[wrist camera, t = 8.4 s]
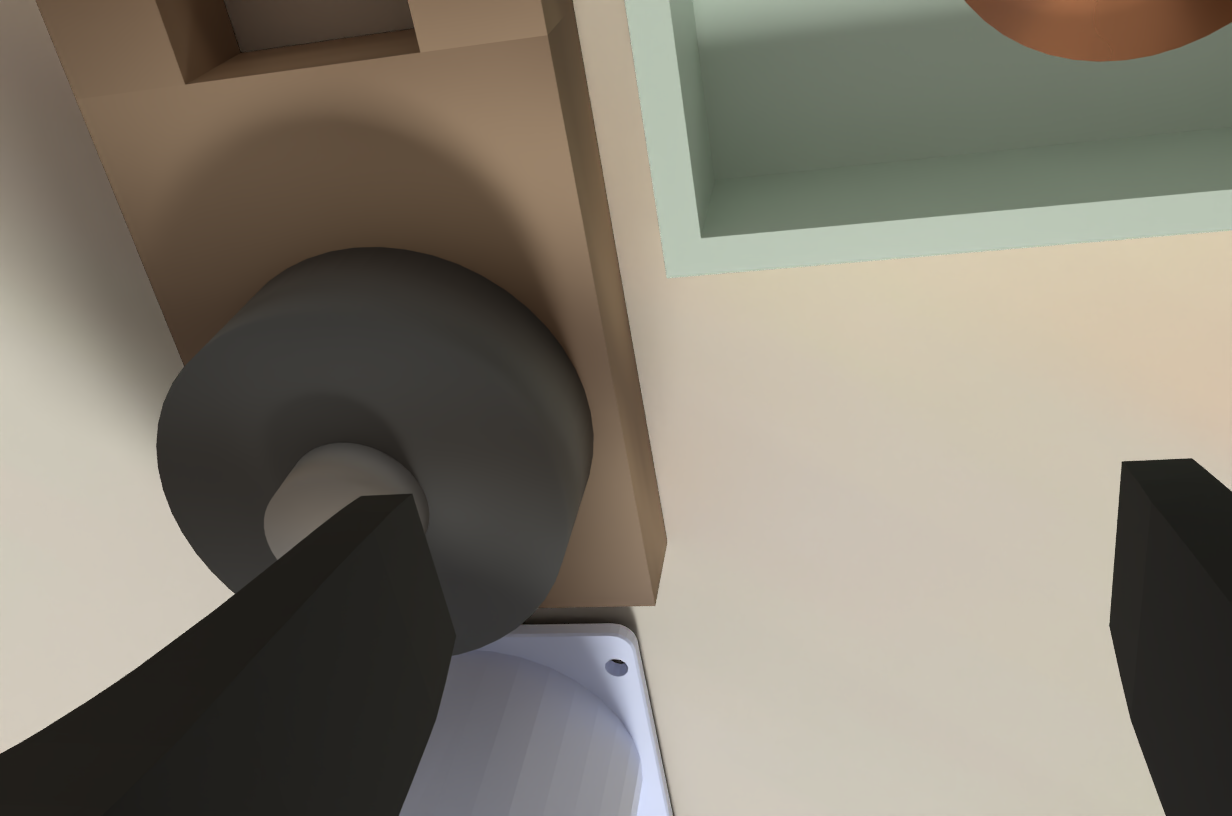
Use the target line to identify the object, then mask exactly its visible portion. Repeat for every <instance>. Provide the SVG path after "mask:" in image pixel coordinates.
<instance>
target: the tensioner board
mask: <svg viewBox="0 0 1232 816" xmlns="http://www.w3.org/2000/svg"><path fill="white" fill-rule="evenodd" d="M36 3H37V5H38V7H39V10H40V12H41V15H42V17H43V20H44V22H45V25H46V27H47V30H48V32H49V35H50V37H51V39H52V42H53V44H54V47H55V49H56V52H57V54H58V57H59V59H60V62H61V64H62V66H63V69H64V71H65V74H66V76H67V79H68V81H69V84H70V86H71V89H72V91H73V94H74V96H75V98H76V101H77V103H78V106H79V108H80V111H81V113H82V116H83V118H84V121H85V123H86V125H87V128H88V130H89V133H90V135H91V138H92V140H93V143H94V145H95V148H96V150H97V153H98V155H99V157H100V160H101V162H102V165H103V167H104V170H105V172H106V175H107V177H108V180H109V182H110V184H111V187H112V189H113V192H114V194H115V197H116V199H117V202H118V204H119V207H120V209H121V212H122V214H123V216H124V219H125V221H126V224H127V226H128V229H129V231H130V234H131V236H132V239H133V241H134V244H135V246H136V248H137V251H138V253H139V256H140V258H141V261H142V263H143V266H144V268H145V271H146V273H147V275H148V278H149V280H150V283H151V285H152V288H153V290H154V293H155V295H156V298H157V300H158V303H159V305H160V307H161V310H162V312H163V315H164V317H165V320H166V322H167V325H168V327H169V330H170V332H171V334H172V337H173V339H174V342H175V344H176V347H177V349H178V352H179V354H180V357H181V359H182V362H183V364H184V368H183V369H182V371H181V372H180V373H179V375H178V376H177V378H176V379H175V381H174V382H173V383H172V386H171V388H170V390H169V392H168V394H167V396H166V399H165V401H164V403H163V407H162V411H161V415H160V419H159V423H158V432H157V444H156V447H157V460H158V469H159V474H160V478H161V483H162V487H163V491H164V493H165V496H166V499H167V501H168V504H169V507H170V509H171V512H172V514H173V516H174V518H175V520H176V522H177V524H178V525H179V527H180V529H181V531H182V533H183V534H184V536H185V537H186V539H187V540H188V542H189V543H190V545H191V546H192V548H193V549H194V551H195V552H196V554H197V555H198V556H199V557H200V558H201V560H202V561H203V562H204V563H205V564H206V566H207V567H208V568H209V569H210V570H211V571H212V572H213V573H214V574H215V575H216V576H217V577H218V578H219V579H220V580H221V581H222V582H223V583H224V584H225V585H226V586H227V587H228V588H229V589H230V590H231V591H232V592H234V593H235V594H236V593H237V592H238V591H239V590H241V589H242V588H243V587H244V586H246V585H247V584H248V583H249V582H251V581H252V580H253V579H254V578H256V577H257V576H258V575H259V574H261V573H262V572H263V571H264V570H266V569H267V568H268V567H269V566H271V565H272V564H273V563H274V562H276V561H277V560H278V559H279V558H281V557H282V556H283V555H284V554H286V553H287V552H288V551H289V550H290V549H292V548H293V547H294V546H295V545H297V544H298V543H299V542H300V541H302V540H303V539H304V538H305V537H307V536H308V535H309V534H310V533H312V532H313V531H314V530H315V529H317V528H318V527H319V526H320V525H322V524H323V523H324V522H325V521H327V520H328V519H329V518H331V517H332V516H333V515H335V514H336V513H337V512H339V511H340V510H341V509H343V508H344V507H345V506H347V505H348V504H350V503H351V502H353V501H354V500H356V499H357V498H359V497H360V496H369V495H391V494H413V497H414V500H415V504H416V507H417V510H418V513H419V517H420V520H421V523H422V526H423V530H424V533H425V536H426V539H427V543H428V546H429V549H430V552H431V556H432V559H433V562H434V565H435V568H436V572H437V575H438V578H439V581H440V585H441V588H442V591H443V594H444V598H445V601H446V604H447V607H448V611H449V614H450V617H451V620H452V624H453V627H454V630H455V633H456V639H455V644H454V648H453V653H452V656H454V655H459V654H462V653H466V652H469V651H472V650H476V649H479V648H481V647H484V646H486V645H488V644H490V643H492V642H495V641H497V640H499V639H501V638H502V637H504V636H505V635H507V634H508V633H510V632H512V631H513V630H515V629H516V628H518V627H519V626H520V625H521V624H522V623H523V622H524V621H526V620H527V619H528V618H529V617H530V616H531V615H532V614H533V613H534V612H535V611H536V610H537V608H568V607H619V606H655V604H656V599H657V594H658V588H659V583H660V578H661V572H662V567H663V562H664V557H665V551H666V546H667V539H666V533H665V527H664V522H663V516H662V510H661V504H660V499H659V493H658V487H657V482H656V476H655V470H654V465H653V459H652V453H651V447H650V442H649V436H648V430H647V425H646V419H645V413H644V407H643V402H642V396H641V390H640V385H639V379H638V373H637V368H636V362H635V356H634V350H633V345H632V339H631V333H630V328H629V322H628V316H627V310H626V305H625V299H624V293H623V288H622V282H621V276H620V271H619V265H618V259H617V253H616V248H615V242H614V236H613V231H612V225H611V219H610V213H609V208H608V202H607V196H606V191H605V185H604V179H603V174H602V168H601V162H600V156H599V151H598V145H597V139H596V134H595V128H594V122H593V116H592V111H591V105H590V99H589V94H588V88H587V82H586V77H585V71H584V65H583V59H582V54H581V48H580V42H579V37H578V31H577V25H576V19H575V14H574V8H573V2H572V0H408V4H409V8H410V12H411V16H412V20H413V24H414V29H407V30H400V31H393V32H385V33H378V34H371V35H364V36H357V37H350V38H343V39H336V40H329V41H322V42H315V43H308V44H301V45H294V46H287V47H279V48H272V49H265V50H258V51H251V52H244V53H240V50H239V47H238V44H237V41H236V38H235V35H234V32H233V29H232V26H231V22H230V19H229V16H228V13H227V10H226V7H225V4H224V1H223V0H36Z"/></svg>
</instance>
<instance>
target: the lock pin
mask: <svg viewBox="0 0 1232 816" xmlns="http://www.w3.org/2000/svg"><path fill="white" fill-rule="evenodd" d="M964 1H965V2H966V3H967V4H968V5H969V6H970V7H971V8H972V9H973V10H974V11H975V12H976V13H977V14H978V15H979V16H980V17H981V18H982V19H983V20H984V21H985V22H987V23H988V24H989V25H991V26H992V27H993V28H995V29H996V30H997V31H999V32H1000V33H1001V34H1003V35H1004V36H1006V37H1008V38H1010V39H1012V40H1014V41H1016V42H1018V43H1020V44H1021V45H1023V46H1025V47H1028V48H1031V49H1034V50H1036V51H1039V52H1042V53H1045V54H1048V55H1052V56H1057V57H1062V58H1066V59H1071V60H1082V61H1095V62H1104V61H1122V60H1130V59H1136V58H1142V57H1147V56H1153V55H1156V54H1160V53H1163V52H1166V51H1170V50H1173V49H1176V48H1180V47H1182V46H1184V45H1187V44H1189V43H1192V42H1194V41H1196V40H1199V39H1201V38H1203V37H1206V36H1208V35H1210V34H1212V33H1213V32H1215V31H1217V30H1219V29H1221V28H1222V27H1224V26H1226V25H1228V24H1230V23H1231V22H1232V0H964Z"/></svg>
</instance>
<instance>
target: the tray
mask: <svg viewBox="0 0 1232 816" xmlns="http://www.w3.org/2000/svg"><path fill="white" fill-rule="evenodd" d="M624 1H625V7H626V14H627V20H628V27H629V33H630V40H631V46H632V53H633V60H634V66H635V73H636V79H637V86H638V92H639V99H640V105H641V112H642V118H643V125H644V132H645V138H646V145H647V151H648V158H649V164H650V171H651V177H652V184H653V190H654V197H655V204H656V210H657V217H658V223H659V230H660V236H661V243H662V249H663V256H664V263H665V269H666V276H667V278H676V277H688V276H700V275H711V274H723V273H735V272H747V271H758V270H770V269H782V268H794V267H806V266H817V265H829V264H841V263H853V262H865V261H876V260H888V259H900V258H912V257H924V256H935V255H947V254H959V253H971V252H982V251H994V250H1006V249H1018V248H1030V247H1041V246H1053V245H1065V244H1077V243H1089V242H1100V241H1112V240H1124V239H1136V238H1148V237H1159V236H1171V235H1183V234H1195V233H1207V232H1218V231H1230V230H1232V22H1231V23H1230V24H1228V25H1226V26H1224V27H1222V28H1221V29H1219V30H1217V31H1215V32H1213V33H1212V34H1210V35H1208V36H1206V37H1203V38H1201V39H1199V40H1196V41H1194V42H1192V43H1189V44H1187V45H1184V46H1182V47H1180V48H1176V49H1173V50H1170V51H1166V52H1163V53H1160V54H1156V55H1153V56H1147V57H1142V58H1136V59H1130V60H1122V61H1104V62H1095V61H1082V60H1071V59H1066V58H1062V57H1057V56H1052V55H1048V54H1045V53H1042V52H1039V51H1036V50H1034V49H1031V48H1028V47H1025V46H1023V45H1021V44H1020V43H1018V42H1016V41H1014V40H1012V39H1010V38H1008V37H1006V36H1004V35H1003V34H1001V33H1000V32H999V31H997V30H996V29H995V28H993V27H992V26H991V25H989V24H988V23H987V22H985V21H984V20H983V19H982V18H981V17H980V16H979V15H978V14H977V13H976V12H975V11H974V10H973V9H972V8H971V7H970V6H969V5H968V4H967V3H966V2H965V1H964V0H624Z"/></svg>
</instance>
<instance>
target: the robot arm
mask: <svg viewBox="0 0 1232 816" xmlns="http://www.w3.org/2000/svg"><path fill="white" fill-rule="evenodd" d="M1109 626H1110V631H1111V635H1112V640H1113V645H1114V649H1115V654H1116V658H1117V663H1118V667H1119V672H1120V677H1121V681H1122V685H1123V689H1124V693H1125V698H1126V702H1127V706H1128V710H1129V714H1130V719H1131V722H1132V725H1133V727H1134V730H1135V733H1136V736H1137V739H1138V741H1139V744H1140V747H1141V750H1142V752H1143V755H1144V758H1145V761H1146V763H1147V766H1148V769H1149V771H1150V774H1151V777H1152V780H1153V782H1154V785H1155V788H1156V791H1157V793H1158V796H1159V799H1160V801H1161V804H1162V807H1163V809H1164V812H1165V815H1166V816H1232V492H1231V491H1230V490H1229V489H1228V488H1227V487H1226V486H1224V485H1223V484H1222V483H1221V482H1220V481H1219V480H1217V479H1216V478H1215V477H1214V476H1213V475H1211V474H1210V473H1209V472H1208V471H1207V470H1206V469H1204V468H1203V467H1202V466H1201V465H1199V464H1198V463H1197V462H1196V461H1195V460H1193V459H1192V458H1190V459H1168V460H1146V461H1124V462H1122V468H1121V481H1120V494H1119V507H1118V520H1117V533H1116V546H1115V559H1114V572H1113V585H1112V598H1111V611H1110V624H1109ZM455 639H456V633H455V630H454V627H453V624H452V620H451V617H450V614H449V611H448V607H447V604H446V601H445V598H444V594H443V591H442V588H441V585H440V581H439V578H438V575H437V572H436V568H435V565H434V562H433V559H432V556H431V552H430V549H429V546H428V543H427V539H426V536H425V533H424V530H423V526H422V523H421V520H420V517H419V513H418V510H417V507H416V504H415V500H414V497H413V494H391V495H369V496H360V497H359V498H357V499H356V500H354V501H353V502H351V503H350V504H348V505H347V506H345V507H344V508H343V509H341V510H340V511H339V512H337V513H336V514H335V515H333V516H332V517H331V518H329V519H328V520H327V521H325V522H324V523H323V524H322V525H320V526H319V527H318V528H317V529H315V530H314V531H313V532H312V533H310V534H309V535H308V536H307V537H305V538H304V539H303V540H302V541H300V542H299V543H298V544H297V545H295V546H294V547H293V548H292V549H290V550H289V551H288V552H287V553H286V554H284V555H283V556H282V557H281V558H279V559H278V560H277V561H276V562H274V563H273V564H272V565H271V566H269V567H268V568H267V569H266V570H264V571H263V572H262V573H261V574H259V575H258V576H257V577H256V578H254V579H253V580H252V581H251V582H249V583H248V584H247V585H246V586H244V587H243V588H242V589H241V590H239V591H238V592H237V593H236V594H234V595H233V596H232V597H231V598H229V599H228V600H227V601H226V602H224V603H223V604H222V605H221V606H219V607H218V608H217V609H216V610H214V611H213V612H212V613H210V614H209V615H208V616H206V617H205V618H204V619H202V620H201V621H199V622H198V623H197V624H195V625H194V626H193V627H191V628H190V629H189V630H187V631H186V632H185V633H183V634H182V635H181V636H179V637H178V638H177V639H175V640H174V641H173V642H171V643H170V644H169V645H167V646H166V647H164V648H163V649H162V650H160V651H159V652H158V653H156V654H155V655H154V656H152V657H151V658H150V659H148V660H147V661H146V662H144V663H143V664H142V665H140V666H139V667H138V668H136V669H135V670H133V671H132V672H130V673H129V674H127V675H126V676H125V677H123V678H122V679H120V680H119V681H117V682H116V683H114V684H113V685H111V686H110V687H108V688H107V689H105V690H104V691H102V692H101V693H99V694H98V695H96V696H95V697H93V698H92V699H90V700H89V701H87V702H86V703H84V704H82V705H81V706H79V707H78V708H76V709H74V710H73V711H71V712H70V713H68V714H67V715H65V716H63V717H62V718H60V719H59V720H57V721H55V722H54V723H52V724H51V725H49V726H47V727H46V728H44V729H43V730H41V731H39V732H38V733H36V734H34V735H33V736H31V737H29V738H28V739H26V740H24V741H23V742H21V743H19V744H17V745H15V746H14V747H12V748H10V749H8V750H6V751H5V752H3V753H1V754H0V816H673V813H672V808H671V803H670V798H669V794H668V789H667V784H666V779H665V774H664V769H663V764H662V759H661V754H660V749H659V744H658V739H657V735H656V730H655V725H654V720H653V715H652V710H651V705H650V700H649V695H648V690H647V685H646V680H645V675H644V671H643V666H642V661H641V656H640V651H639V646H638V641H637V638H636V636H635V634H634V633H633V632H632V631H631V630H630V629H629V628H627V627H625V626H623V625H621V624H613V623H600V624H539V625H520V626H519V627H518V628H516V629H515V630H513V631H512V632H510V633H508V634H507V635H505V636H504V637H502V638H501V639H499V640H497V641H495V642H492V643H490V644H488V645H486V646H484V647H481V648H479V649H476V650H472V651H469V652H466V653H462V654H459V655H454V656H452V653H453V648H454V644H455ZM612 659H618V660H621V661H623V662H625V663H624V664H618V663H615V662H613V661H611V660H612Z"/></svg>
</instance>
